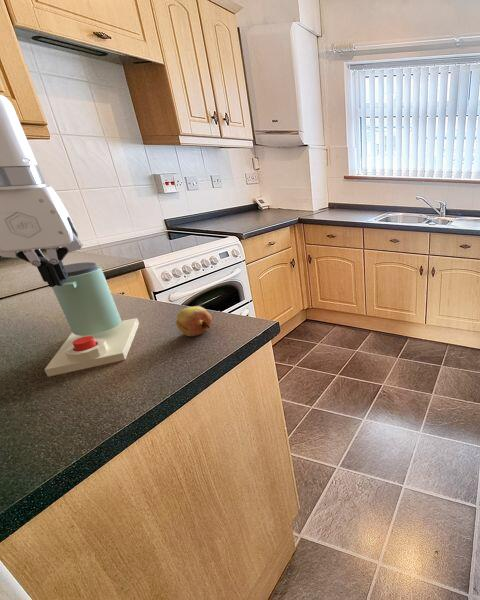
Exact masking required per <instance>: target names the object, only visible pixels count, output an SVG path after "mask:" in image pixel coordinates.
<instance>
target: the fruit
mask: <svg viewBox="0 0 480 600" xmlns="http://www.w3.org/2000/svg"><path fill="white" fill-rule="evenodd" d="M212 323H213V317H212V315H211V313H209V311H208V310H207V309H206V308H205V307H202V306H199V305H195V306H194V305H193V306H189V307H188V306H187V307H184V308H182V309H180V311H178V313H177V316H176V321H175V324H176V327H177V328H178V329H179V331H180V332H181V333H182V334H183V335H185V336H187V337H197V336H200V335H202V334H203V333H205V332H206V331H207V330H208V329H211V326H212Z"/></svg>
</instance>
